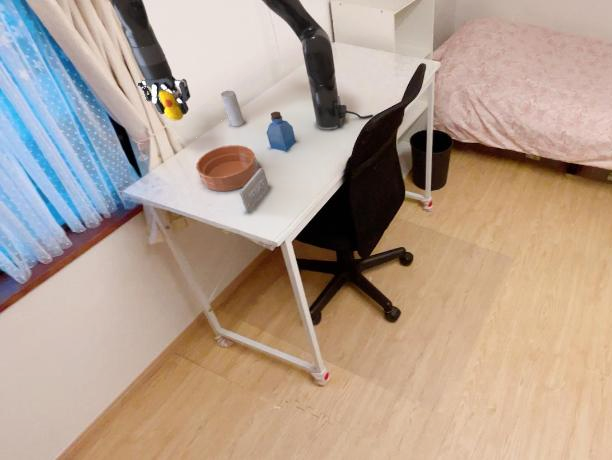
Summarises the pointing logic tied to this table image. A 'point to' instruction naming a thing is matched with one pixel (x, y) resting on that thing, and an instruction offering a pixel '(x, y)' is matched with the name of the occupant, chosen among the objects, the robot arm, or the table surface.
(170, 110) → the duckling
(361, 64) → the table surface
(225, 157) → the bowl
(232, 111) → the beverage can
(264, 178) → the cassette
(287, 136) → the perfume bottle
